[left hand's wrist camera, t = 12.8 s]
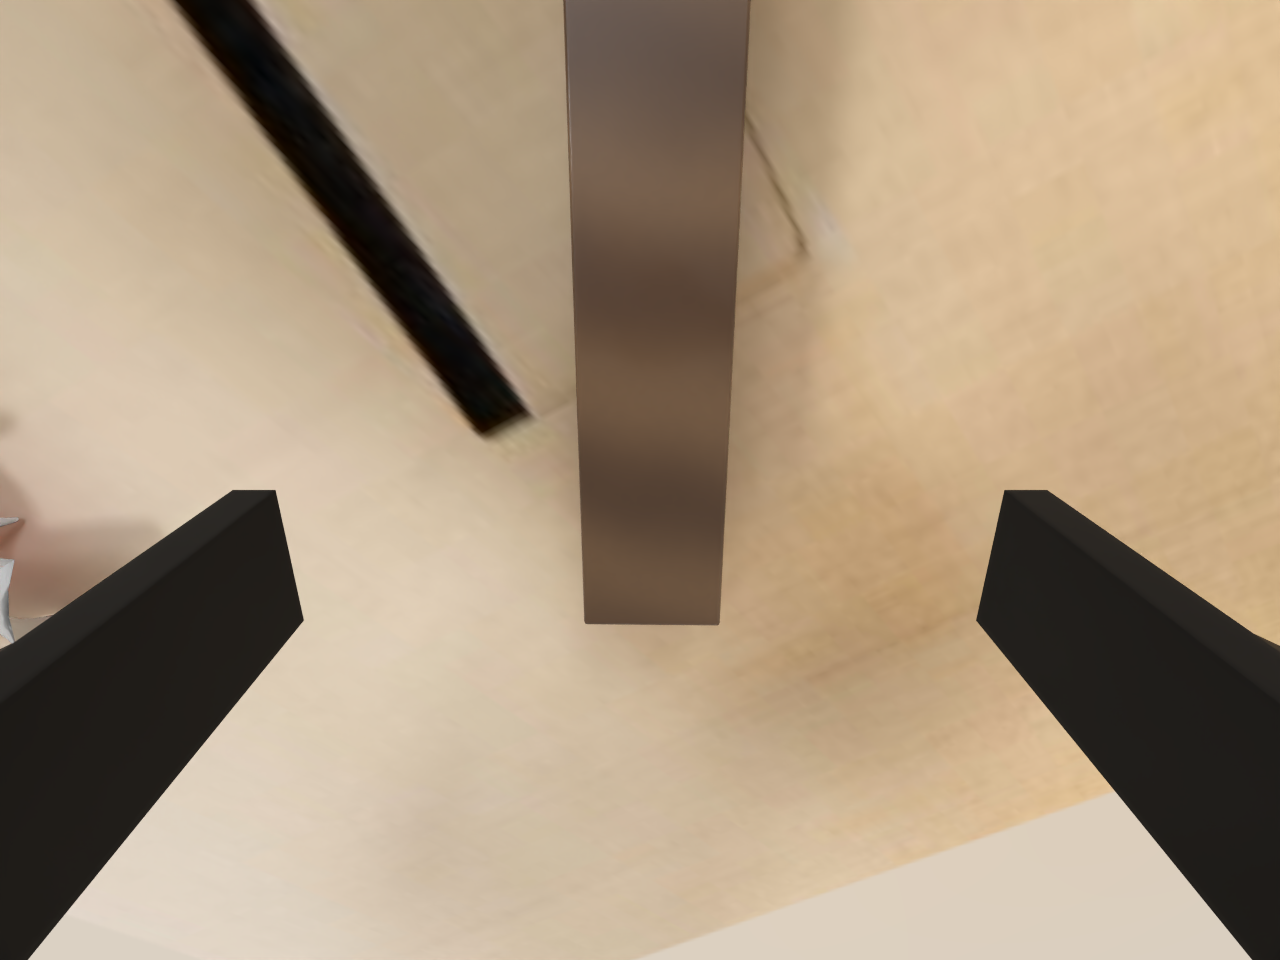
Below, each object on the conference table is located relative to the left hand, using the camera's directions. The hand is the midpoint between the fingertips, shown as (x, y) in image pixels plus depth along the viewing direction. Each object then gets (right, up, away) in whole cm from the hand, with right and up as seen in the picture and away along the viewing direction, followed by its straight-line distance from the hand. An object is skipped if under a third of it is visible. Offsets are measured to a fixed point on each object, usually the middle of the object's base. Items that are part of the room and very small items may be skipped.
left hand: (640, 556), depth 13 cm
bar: (0, +33, +5) cm, 33 cm away
